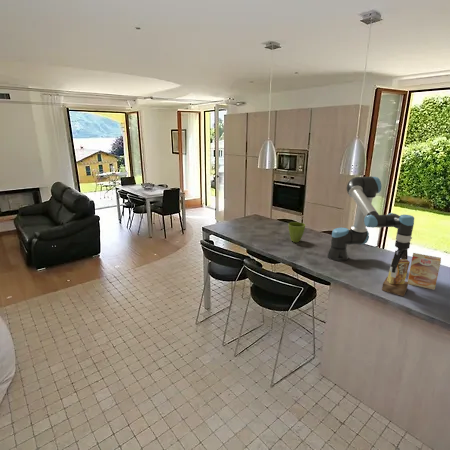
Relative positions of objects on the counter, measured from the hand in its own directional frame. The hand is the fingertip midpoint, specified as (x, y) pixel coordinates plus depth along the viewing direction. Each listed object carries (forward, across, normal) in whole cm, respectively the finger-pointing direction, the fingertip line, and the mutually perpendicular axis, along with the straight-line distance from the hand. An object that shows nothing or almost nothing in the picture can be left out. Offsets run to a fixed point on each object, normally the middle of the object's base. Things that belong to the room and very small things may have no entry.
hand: (397, 273), depth 186 cm
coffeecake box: (+11, +19, -9) cm, 24 cm away
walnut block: (+11, 0, 0) cm, 11 cm away
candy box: (+6, 0, 0) cm, 6 cm away
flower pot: (+11, +30, +95) cm, 100 cm away
